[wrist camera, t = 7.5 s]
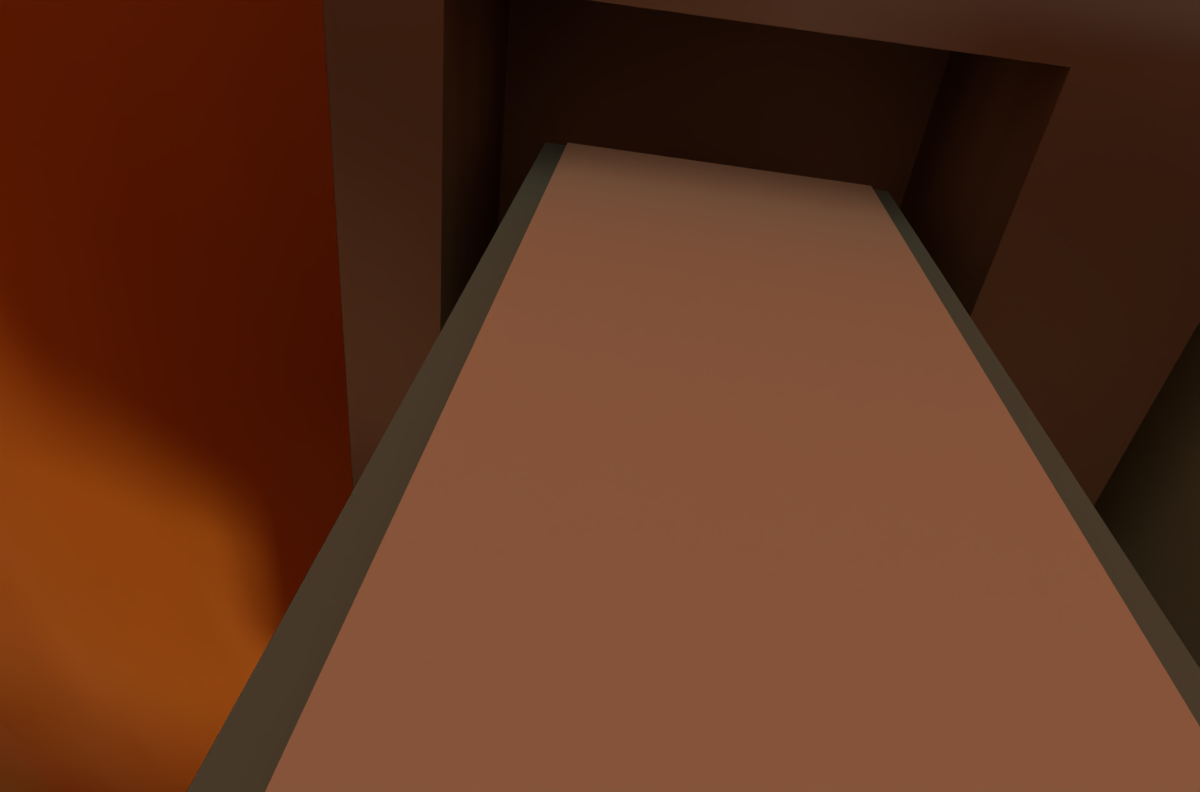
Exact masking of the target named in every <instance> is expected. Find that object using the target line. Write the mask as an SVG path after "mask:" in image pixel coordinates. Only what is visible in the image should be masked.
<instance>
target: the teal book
mask: <svg viewBox="0 0 1200 792" xmlns="http://www.w3.org/2000/svg"><path fill="white" fill-rule="evenodd" d="M187 792H1200V668H1199V667H1198V665H1197V664H1196V662H1195V661H1194V659H1193V658H1192V656H1191V655H1190V653H1189V652H1188V650H1187V649H1186V647H1185V645H1184V644H1183V642H1182V641H1181V639H1180V638H1179V636H1178V635H1177V633H1176V632H1175V630H1174V629H1173V627H1172V626H1171V624H1170V622H1169V621H1168V619H1167V618H1166V616H1165V615H1164V613H1163V612H1162V610H1161V609H1160V607H1159V606H1158V604H1157V603H1156V601H1155V599H1154V598H1153V596H1152V595H1151V593H1150V592H1149V590H1148V589H1147V587H1146V586H1145V584H1144V583H1143V581H1142V580H1141V578H1140V576H1139V575H1138V573H1137V572H1136V570H1135V569H1134V567H1133V566H1132V564H1131V563H1130V561H1129V560H1128V558H1127V557H1126V555H1125V554H1124V552H1123V550H1122V549H1121V547H1120V546H1119V544H1118V543H1117V541H1116V540H1115V538H1114V537H1113V535H1112V534H1111V532H1110V531H1109V529H1108V527H1107V526H1106V524H1105V523H1104V521H1103V520H1102V518H1101V517H1100V515H1099V514H1098V512H1097V511H1096V509H1095V508H1094V506H1093V504H1092V503H1091V501H1090V500H1089V498H1088V497H1087V495H1086V494H1085V492H1084V491H1083V489H1082V488H1081V486H1080V485H1079V483H1078V481H1077V480H1076V478H1075V477H1074V475H1073V474H1072V472H1071V471H1070V469H1069V468H1068V466H1067V465H1066V463H1065V462H1064V460H1063V458H1062V457H1061V455H1060V454H1059V452H1058V451H1057V449H1056V448H1055V446H1054V445H1053V443H1052V442H1051V440H1050V439H1049V437H1048V435H1047V434H1046V432H1045V431H1044V429H1043V428H1042V426H1041V425H1040V423H1039V422H1038V420H1037V419H1036V417H1035V416H1034V414H1033V412H1032V411H1031V409H1030V408H1029V406H1028V405H1027V403H1026V402H1025V400H1024V399H1023V397H1022V396H1021V394H1020V393H1019V391H1018V389H1017V388H1016V386H1015V385H1014V383H1013V382H1012V380H1011V379H1010V377H1009V376H1008V374H1007V373H1006V371H1005V370H1004V368H1003V367H1002V365H1001V363H1000V362H999V360H998V359H997V357H996V356H995V354H994V353H993V351H992V350H991V348H990V347H989V345H988V344H987V342H986V340H985V339H984V337H983V336H982V334H981V333H980V331H979V330H978V328H977V327H976V325H975V324H974V322H973V321H972V319H971V317H970V316H969V314H968V313H967V311H966V310H965V308H964V307H963V305H962V304H961V302H960V301H959V299H958V298H957V296H956V294H955V293H954V291H953V290H952V288H951V287H950V285H949V284H948V282H947V281H946V279H945V278H944V276H943V275H942V273H941V271H940V270H939V268H938V267H937V265H936V264H935V262H934V261H933V259H932V258H931V256H930V255H929V253H928V252H927V250H926V248H925V247H924V245H923V244H922V242H921V241H920V239H919V238H918V236H917V235H916V233H915V232H914V230H913V229H912V227H911V225H910V224H909V222H908V221H907V219H906V218H905V216H904V215H903V213H902V212H901V210H900V209H899V207H898V206H897V204H896V202H895V201H894V199H893V198H892V196H891V195H890V193H889V192H888V191H883V190H876V189H873V188H872V186H869V185H862V184H855V183H848V182H841V181H834V180H827V179H820V178H813V177H806V176H799V175H792V174H785V173H778V172H771V171H764V170H757V169H750V168H743V167H736V166H729V165H722V164H715V163H708V162H701V161H694V160H687V159H680V158H673V157H666V156H659V155H652V154H645V153H638V152H631V151H624V150H617V149H610V148H603V147H596V146H589V145H582V144H575V143H567V145H561V144H554V143H547V142H545V144H544V146H543V148H542V149H541V151H540V153H539V155H538V157H537V159H536V160H535V162H534V164H533V166H532V168H531V169H530V171H529V173H528V175H527V177H526V178H525V180H524V182H523V184H522V186H521V187H520V189H519V191H518V193H517V195H516V197H515V198H514V200H513V202H512V204H511V206H510V207H509V209H508V211H507V213H506V215H505V216H504V218H503V220H502V222H501V224H500V225H499V227H498V229H497V231H496V233H495V235H494V236H493V238H492V240H491V242H490V244H489V245H488V247H487V249H486V251H485V253H484V254H483V256H482V258H481V260H480V262H479V264H478V265H477V267H476V269H475V271H474V273H473V274H472V276H471V278H470V280H469V282H468V283H467V285H466V287H465V289H464V291H463V292H462V294H461V296H460V298H459V300H458V302H457V303H456V305H455V307H454V309H453V311H452V312H451V314H450V316H449V318H448V320H447V321H446V323H445V325H444V327H443V329H442V330H441V332H440V334H439V336H438V338H437V340H436V341H435V343H434V345H433V347H432V349H431V350H430V352H429V354H428V356H427V358H426V359H425V361H424V363H423V365H422V367H421V368H420V370H419V372H418V374H417V376H416V378H415V379H414V381H413V383H412V385H411V387H410V388H409V390H408V392H407V394H406V396H405V397H404V399H403V401H402V403H401V405H400V406H399V408H398V410H397V412H396V414H395V416H394V417H393V419H392V421H391V423H390V425H389V426H388V428H387V430H386V432H385V434H384V435H383V437H382V439H381V441H380V443H379V444H378V446H377V448H376V450H375V452H374V454H373V455H372V457H371V459H370V461H369V463H368V464H367V466H366V468H365V470H364V472H363V473H362V475H361V477H360V479H359V481H358V483H357V484H356V486H355V488H354V490H353V492H352V493H351V495H350V497H349V499H348V501H347V502H346V504H345V506H344V508H343V510H342V511H341V513H340V515H339V517H338V519H337V521H336V522H335V524H334V526H333V528H332V530H331V531H330V533H329V535H328V537H327V539H326V540H325V542H324V544H323V546H322V548H321V549H320V551H319V553H318V555H317V557H316V559H315V560H314V562H313V564H312V566H311V568H310V569H309V571H308V573H307V575H306V577H305V578H304V580H303V582H302V584H301V586H300V587H299V589H298V591H297V593H296V595H295V597H294V598H293V600H292V602H291V604H290V606H289V607H288V609H287V611H286V613H285V615H284V616H283V618H282V620H281V622H280V624H279V625H278V627H277V629H276V631H275V633H274V635H273V636H272V638H271V640H270V642H269V644H268V645H267V647H266V649H265V651H264V653H263V654H262V656H261V658H260V660H259V662H258V663H257V665H256V667H255V669H254V671H253V673H252V674H251V676H250V678H249V680H248V682H247V683H246V685H245V687H244V689H243V691H242V692H241V694H240V696H239V698H238V700H237V702H236V703H235V705H234V707H233V709H232V711H231V712H230V714H229V716H228V718H227V720H226V721H225V723H224V725H223V727H222V729H221V730H220V732H219V734H218V736H217V738H216V740H215V741H214V743H213V745H212V747H211V749H210V750H209V752H208V754H207V756H206V758H205V759H204V761H203V763H202V765H201V767H200V768H199V770H198V772H197V774H196V776H195V778H194V779H193V781H192V783H191V785H190V787H189V788H188V790H187Z"/></svg>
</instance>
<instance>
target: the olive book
mask: <svg viewBox="0 0 1200 792" xmlns="http://www.w3.org/2000/svg"><path fill="white" fill-rule="evenodd" d="M1094 508H1095V509H1096V511H1097V512H1098V514H1099V515H1100V517H1101V518H1102V520H1103V521H1104V523H1105V524H1106V526H1107V527H1108V529H1109V531H1110V532H1111V534H1112V535H1113V537H1114V538H1115V540H1116V541H1117V543H1118V544H1119V546H1120V547H1121V549H1122V550H1123V552H1124V554H1125V555H1126V557H1127V558H1128V560H1129V561H1130V563H1131V564H1132V566H1133V567H1134V569H1135V570H1136V572H1137V573H1138V575H1139V576H1140V578H1141V580H1142V581H1143V583H1144V584H1145V586H1146V587H1147V589H1148V590H1149V592H1150V593H1151V595H1152V596H1153V598H1154V599H1155V601H1156V603H1157V604H1158V606H1159V607H1160V609H1161V610H1162V612H1163V613H1164V615H1165V616H1166V618H1167V619H1168V621H1169V622H1170V624H1171V626H1172V627H1173V629H1174V630H1175V632H1176V633H1177V635H1178V636H1179V638H1180V639H1181V641H1182V642H1183V644H1184V645H1185V647H1186V649H1187V650H1188V652H1189V653H1190V655H1191V656H1192V658H1193V659H1194V661H1195V662H1196V664H1197V665H1198V667H1199V668H1200V322H1199V324H1198V325H1197V327H1196V329H1195V331H1194V332H1193V334H1192V336H1191V338H1190V339H1189V341H1188V343H1187V345H1186V346H1185V348H1184V350H1183V351H1182V353H1181V355H1180V357H1179V358H1178V360H1177V362H1176V364H1175V365H1174V367H1173V369H1172V371H1171V372H1170V374H1169V376H1168V378H1167V379H1166V381H1165V383H1164V385H1163V386H1162V388H1161V390H1160V391H1159V393H1158V395H1157V397H1156V398H1155V400H1154V402H1153V404H1152V405H1151V407H1150V409H1149V411H1148V412H1147V414H1146V416H1145V418H1144V419H1143V421H1142V423H1141V425H1140V426H1139V428H1138V430H1137V431H1136V433H1135V435H1134V437H1133V438H1132V440H1131V442H1130V444H1129V445H1128V447H1127V449H1126V451H1125V452H1124V454H1123V456H1122V458H1121V459H1120V461H1119V463H1118V465H1117V466H1116V468H1115V470H1114V471H1113V473H1112V475H1111V477H1110V478H1109V480H1108V482H1107V484H1106V485H1105V487H1104V489H1103V491H1102V492H1101V494H1100V496H1099V498H1098V499H1097V501H1096V503H1095V505H1094Z"/></svg>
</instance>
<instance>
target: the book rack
mask: <svg viewBox="0 0 1200 792" xmlns="http://www.w3.org/2000/svg"><path fill="white" fill-rule="evenodd" d="M323 14H324V30H325V46H326V62H327V78H328V94H329V111H330V127H331V143H332V159H333V175H334V191H335V207H336V224H337V240H338V256H339V272H340V288H341V304H342V320H343V337H344V353H345V369H346V385H347V401H348V417H349V433H350V450H351V466H352V482H353V490H354V488H355V486H356V484H357V483H358V481H359V479H360V477H361V475H362V473H363V472H364V470H365V468H366V466H367V464H368V463H369V461H370V459H371V457H372V455H373V454H374V452H375V450H376V448H377V446H378V444H379V443H380V441H381V439H382V437H383V435H384V434H385V432H386V430H387V428H388V426H389V425H390V423H391V421H392V419H393V417H394V416H395V414H396V412H397V410H398V408H399V406H400V405H401V403H402V401H403V399H404V397H405V396H406V394H407V392H408V390H409V388H410V387H411V385H412V383H413V381H414V379H415V378H416V376H417V374H418V372H419V370H420V368H421V367H422V365H423V363H424V361H425V359H426V358H427V356H428V354H429V352H430V350H431V349H432V347H433V345H434V343H435V341H436V340H437V338H438V336H439V334H440V332H441V330H442V329H443V327H444V325H445V323H446V321H447V320H448V318H449V316H450V314H451V312H452V311H453V309H454V307H455V305H456V303H457V302H458V300H459V298H460V296H461V294H462V292H463V291H464V289H465V287H466V285H467V283H468V282H469V280H470V278H471V276H472V274H473V273H474V271H475V269H476V267H477V265H478V264H479V262H480V260H481V258H482V256H483V254H484V253H485V251H486V249H487V247H488V245H489V244H490V242H491V240H492V238H493V236H494V235H495V233H496V231H497V229H498V227H499V225H500V224H501V222H502V220H503V218H504V216H505V215H506V213H507V211H508V209H509V207H510V206H511V204H512V202H513V200H514V198H515V197H516V195H517V193H518V191H519V189H520V187H521V186H522V184H523V182H524V180H525V178H526V177H527V175H528V173H529V171H530V169H531V168H532V166H533V164H534V162H535V160H536V159H537V157H538V155H539V153H540V151H541V149H542V148H543V146H544V144H545V142H547V143H554V144H561V145H567V143H575V144H582V145H589V146H596V147H603V148H610V149H617V150H624V151H631V152H638V153H645V154H652V155H659V156H666V157H673V158H680V159H687V160H694V161H701V162H708V163H715V164H722V165H729V166H736V167H743V168H750V169H757V170H764V171H771V172H778V173H785V174H792V175H799V176H806V177H813V178H820V179H827V180H834V181H841V182H848V183H855V184H862V185H869V186H872V188H873V189H876V190H883V191H888V192H889V193H890V195H891V196H892V198H893V199H894V201H895V202H896V204H897V206H898V207H899V209H900V210H901V212H902V213H903V215H904V216H905V218H906V219H907V221H908V222H909V224H910V225H911V227H912V229H913V230H914V232H915V233H916V235H917V236H918V238H919V239H920V241H921V242H922V244H923V245H924V247H925V248H926V250H927V252H928V253H929V255H930V256H931V258H932V259H933V261H934V262H935V264H936V265H937V267H938V268H939V270H940V271H941V273H942V275H943V276H944V278H945V279H946V281H947V282H948V284H949V285H950V287H951V288H952V290H953V291H954V293H955V294H956V296H957V298H958V299H959V301H960V302H961V304H962V305H963V307H964V308H965V310H966V311H967V313H968V314H969V316H970V317H971V319H972V321H973V322H974V324H975V325H976V327H977V328H978V330H979V331H980V333H981V334H982V336H983V337H984V339H985V340H986V342H987V344H988V345H989V347H990V348H991V350H992V351H993V353H994V354H995V356H996V357H997V359H998V360H999V362H1000V363H1001V365H1002V367H1003V368H1004V370H1005V371H1006V373H1007V374H1008V376H1009V377H1010V379H1011V380H1012V382H1013V383H1014V385H1015V386H1016V388H1017V389H1018V391H1019V393H1020V394H1021V396H1022V397H1023V399H1024V400H1025V402H1026V403H1027V405H1028V406H1029V408H1030V409H1031V411H1032V412H1033V414H1034V416H1035V417H1036V419H1037V420H1038V422H1039V423H1040V425H1041V426H1042V428H1043V429H1044V431H1045V432H1046V434H1047V435H1048V437H1049V439H1050V440H1051V442H1052V443H1053V445H1054V446H1055V448H1056V449H1057V451H1058V452H1059V454H1060V455H1061V457H1062V458H1063V460H1064V462H1065V463H1066V465H1067V466H1068V468H1069V469H1070V471H1071V472H1072V474H1073V475H1074V477H1075V478H1076V480H1077V481H1078V483H1079V485H1080V486H1081V488H1082V489H1083V491H1084V492H1085V494H1086V495H1087V497H1088V498H1089V500H1090V501H1091V503H1092V504H1093V506H1094V505H1095V503H1096V501H1097V499H1098V498H1099V496H1100V494H1101V492H1102V491H1103V489H1104V487H1105V485H1106V484H1107V482H1108V480H1109V478H1110V477H1111V475H1112V473H1113V471H1114V470H1115V468H1116V466H1117V465H1118V463H1119V461H1120V459H1121V458H1122V456H1123V454H1124V452H1125V451H1126V449H1127V447H1128V445H1129V444H1130V442H1131V440H1132V438H1133V437H1134V435H1135V433H1136V431H1137V430H1138V428H1139V426H1140V425H1141V423H1142V421H1143V419H1144V418H1145V416H1146V414H1147V412H1148V411H1149V409H1150V407H1151V405H1152V404H1153V402H1154V400H1155V398H1156V397H1157V395H1158V393H1159V391H1160V390H1161V388H1162V386H1163V385H1164V383H1165V381H1166V379H1167V378H1168V376H1169V374H1170V372H1171V371H1172V369H1173V367H1174V365H1175V364H1176V362H1177V360H1178V358H1179V357H1180V355H1181V353H1182V351H1183V350H1184V348H1185V346H1186V345H1187V343H1188V341H1189V339H1190V338H1191V336H1192V334H1193V332H1194V331H1195V329H1196V327H1197V325H1198V324H1199V322H1200V0H323Z"/></svg>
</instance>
